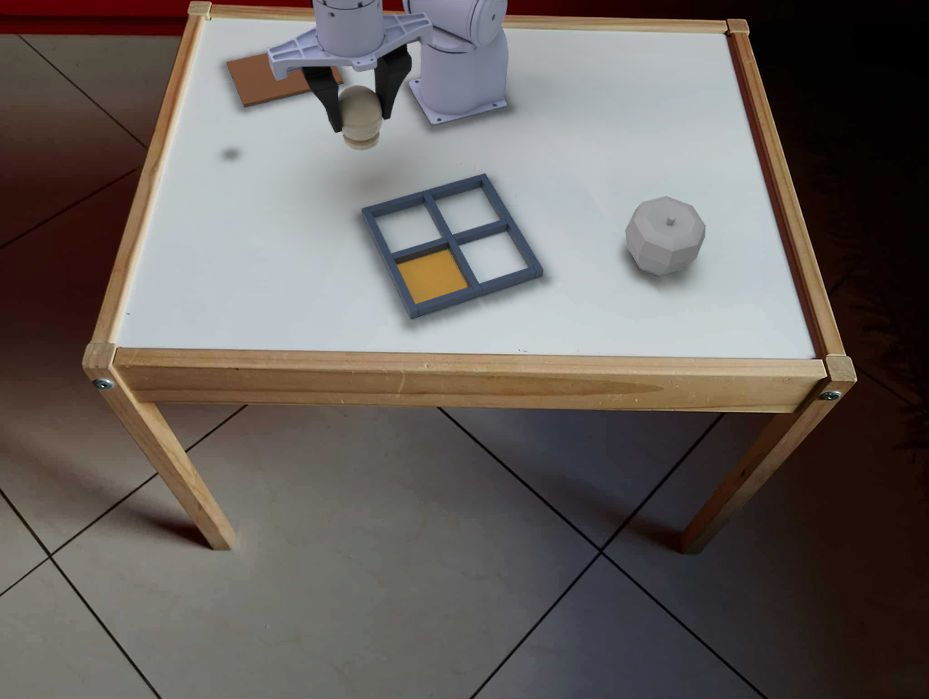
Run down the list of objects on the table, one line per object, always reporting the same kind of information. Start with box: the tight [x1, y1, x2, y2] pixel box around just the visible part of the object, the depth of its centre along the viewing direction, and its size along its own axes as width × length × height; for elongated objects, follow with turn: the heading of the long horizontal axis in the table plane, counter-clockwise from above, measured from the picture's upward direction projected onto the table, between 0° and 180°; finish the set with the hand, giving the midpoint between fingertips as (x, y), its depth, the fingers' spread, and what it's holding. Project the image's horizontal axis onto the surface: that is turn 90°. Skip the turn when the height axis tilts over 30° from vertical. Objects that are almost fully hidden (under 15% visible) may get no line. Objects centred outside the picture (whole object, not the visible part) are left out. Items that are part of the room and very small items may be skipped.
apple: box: [624, 195, 707, 277], centre depth 74 cm, size 8×8×7 cm
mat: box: [226, 52, 344, 107], centre depth 90 cm, size 12×8×1 cm, turn 113°
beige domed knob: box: [338, 84, 384, 151], centre depth 72 cm, size 4×4×6 cm
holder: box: [360, 172, 544, 320], centre depth 76 cm, size 14×14×2 cm
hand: (359, 119), depth 73 cm, fingers closed on beige domed knob, 4 cm apart
